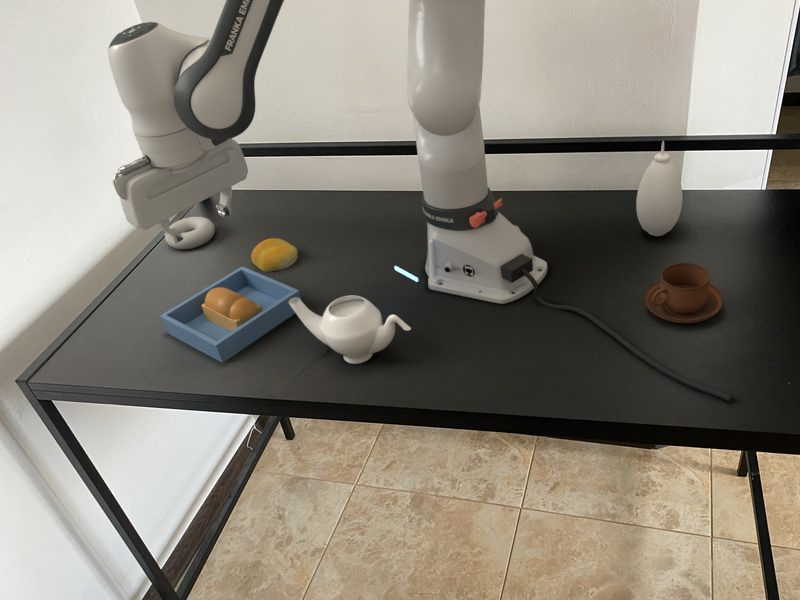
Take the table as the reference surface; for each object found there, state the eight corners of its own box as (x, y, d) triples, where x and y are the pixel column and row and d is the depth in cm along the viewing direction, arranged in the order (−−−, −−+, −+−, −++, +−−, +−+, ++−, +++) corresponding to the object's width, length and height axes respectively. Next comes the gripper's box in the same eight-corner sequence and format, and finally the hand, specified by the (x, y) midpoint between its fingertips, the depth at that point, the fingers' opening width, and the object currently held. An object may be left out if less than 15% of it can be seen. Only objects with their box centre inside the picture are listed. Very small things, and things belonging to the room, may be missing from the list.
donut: (159, 253, 151) (204, 252, 149) (153, 238, 149) (199, 237, 147) (181, 228, 159) (224, 227, 157) (176, 214, 157) (219, 212, 155)
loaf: (268, 321, 127) (260, 296, 124) (243, 338, 124) (234, 312, 121) (228, 302, 133) (219, 277, 130) (203, 317, 130) (193, 293, 127)
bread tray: (304, 309, 130) (299, 290, 127) (223, 365, 120) (215, 345, 117) (248, 285, 138) (242, 266, 135) (167, 335, 128) (159, 315, 125)
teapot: (405, 381, 112) (395, 332, 106) (288, 364, 118) (273, 317, 112) (427, 342, 119) (419, 294, 113) (316, 328, 125) (303, 282, 119)
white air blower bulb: (687, 231, 137) (696, 138, 126) (661, 249, 133) (668, 154, 122) (652, 219, 142) (658, 127, 131) (626, 235, 138) (630, 143, 127)
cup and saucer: (696, 340, 113) (700, 306, 109) (629, 312, 120) (630, 280, 116) (736, 302, 119) (741, 269, 115) (669, 278, 126) (672, 247, 122)
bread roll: (270, 279, 139) (264, 261, 136) (247, 262, 144) (241, 244, 142) (307, 261, 143) (302, 242, 140) (284, 245, 148) (279, 227, 146)
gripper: (121, 177, 101) (156, 264, 110) (240, 123, 113) (264, 205, 121) (96, 167, 104) (133, 253, 113) (215, 116, 116) (239, 197, 125)
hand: (201, 227), depth 117 cm, fingers open, 8 cm apart
